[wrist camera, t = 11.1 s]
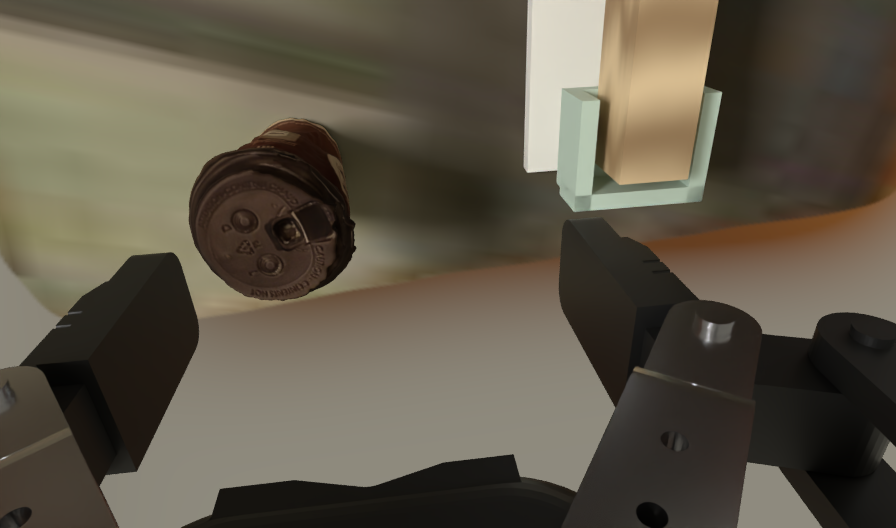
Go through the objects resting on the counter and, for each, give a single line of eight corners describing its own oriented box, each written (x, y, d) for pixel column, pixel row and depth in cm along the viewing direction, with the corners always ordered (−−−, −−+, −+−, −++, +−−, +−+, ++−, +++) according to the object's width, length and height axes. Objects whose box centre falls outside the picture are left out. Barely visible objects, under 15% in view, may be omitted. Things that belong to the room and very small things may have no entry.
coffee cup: (377, 126, 38) (377, 192, 27) (346, 231, 42) (334, 329, 30) (248, 85, 36) (187, 137, 24) (226, 199, 39) (164, 292, 28)
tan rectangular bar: (620, -178, 27) (662, -203, 23) (699, -180, 27) (753, -206, 23) (592, 160, 35) (619, 184, 31) (653, 156, 35) (688, 179, 31)
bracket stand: (533, -195, 31) (585, -251, 23) (703, -199, 32) (809, -254, 24) (523, 167, 41) (557, 213, 33) (653, 157, 41) (717, 200, 34)
